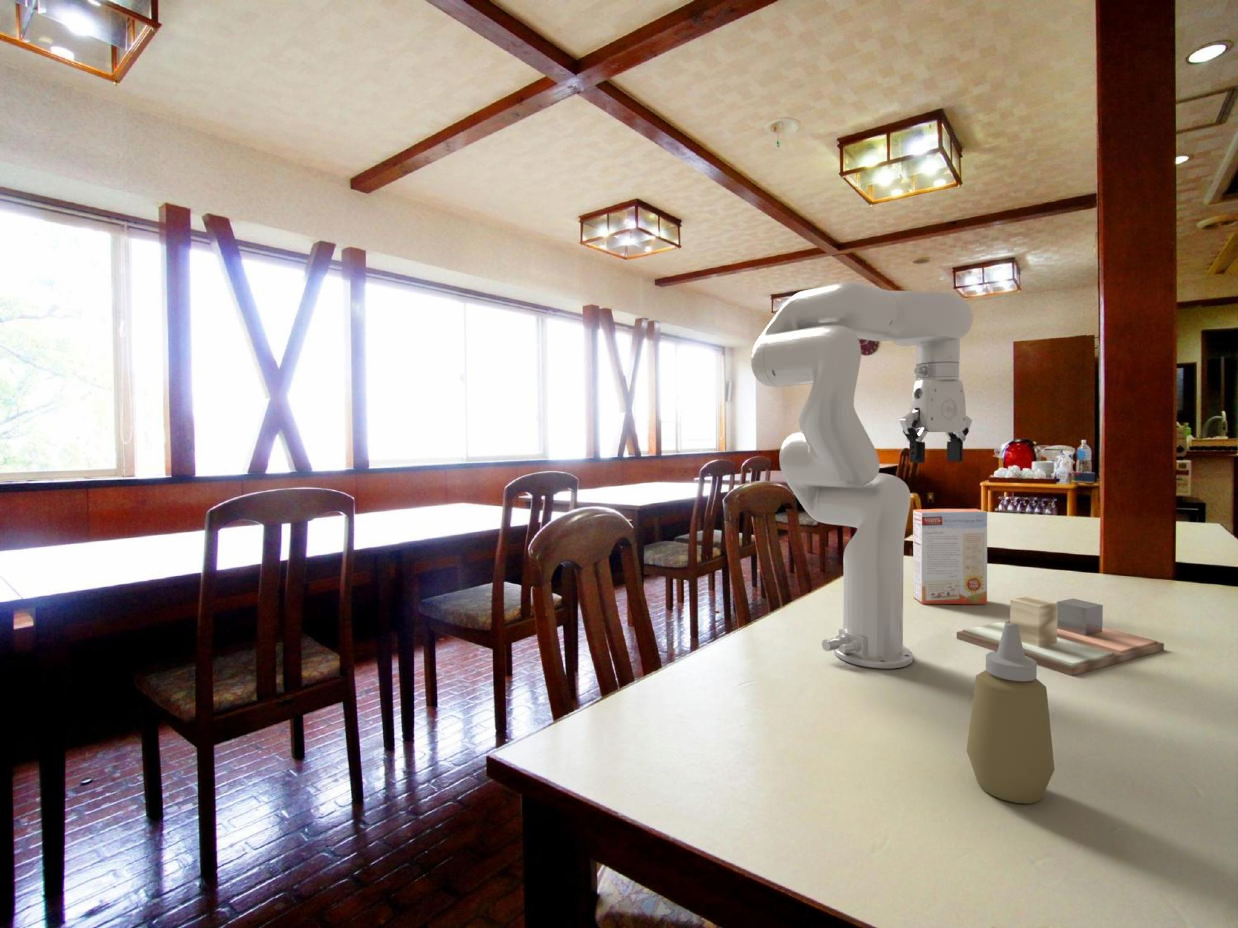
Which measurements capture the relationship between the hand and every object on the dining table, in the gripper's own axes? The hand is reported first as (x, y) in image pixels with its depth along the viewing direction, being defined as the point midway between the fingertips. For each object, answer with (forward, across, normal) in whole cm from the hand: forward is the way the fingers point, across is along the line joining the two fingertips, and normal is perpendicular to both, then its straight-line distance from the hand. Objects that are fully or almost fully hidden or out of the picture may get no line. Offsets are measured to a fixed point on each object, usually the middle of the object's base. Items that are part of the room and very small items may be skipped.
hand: (936, 462), depth 121 cm
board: (+32, +12, -16) cm, 38 cm away
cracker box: (+33, +18, +12) cm, 39 cm away
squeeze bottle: (+33, -39, -45) cm, 68 cm away
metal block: (+31, +18, -16) cm, 39 cm away
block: (+31, +5, -16) cm, 35 cm away
